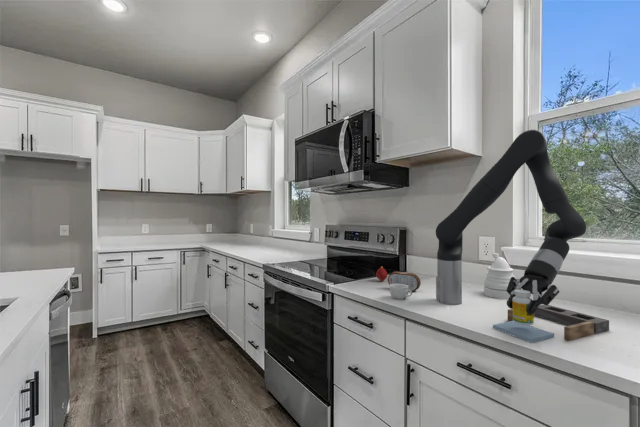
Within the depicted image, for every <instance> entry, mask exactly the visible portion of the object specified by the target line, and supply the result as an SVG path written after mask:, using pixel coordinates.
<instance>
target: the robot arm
mask: <svg viewBox="0 0 640 427" xmlns="http://www.w3.org/2000/svg"><path fill="white" fill-rule="evenodd" d="M523 165H526V166H527V168H528V169H529V171H530V173H531V175H532V178H533V181H534V185H535V188H536V192H537V193H538V196H539V200H540V202H541V204H542V207H543V209H544V211H545V212H546V213H547V214H548V215H549V214H550V215H553V214H554V215H556V216H557V217H558V218H559V219H557V220H556V221H553V222H552V223H551V224H550V225H548V227H547V229H546V230H545V233H544V234H545V235H544V238H543V242H542V244H541V246H540V247H539V249H538V250H537V252H536V253H535V254H534V255H533V257H532V258H531V259H530V260H531V261H530V262H529V264H528V265H527V267H525V270H524V273H523V276H522V277H520V278H516V277H515V278H514V277H511V279H510V281H509V284H508V287H507V290H506V291H507V292H508V293H509V295H510V297H509V299H507V300H506V306H507V307H508V309H512V299H513V297H515V296H516V295H515V290H527V291H530V294H532V300H531V302H530V303H529V305H528V307H527V309H526V311H527V312H528V314H531V315H532V314H533V313H535V312H536V310H537V308H538V306H539V305H550V304H551V302H552V301H553V300H554V299H555V298H556V297H557V296H558V295H559V293H560V290H559V288H558V287H557V285H556V284H553V282H554V280H555V278H556V277H557V275H558V273H559V272H560V270H561V268H562V265H563V263H564V261H565V259H566V258H567V256H568V254H569V252H570V245H569V243H568V241H569V240H573V239H576V238H580V237H582V236H583V235H584V234H586V232H587V223H586V221H585V219H584V217H583V216H582V215H581V214H580V213H579V212H578V211H577V209H576V208H575V207H574V206H573V205H572V203H570V201H569V199H568V196H567V193H566V192H565V190H564V187H563V185H562V184H561V182H560V180H559V178H558V177H557V175H556V173H555V171H554V168H553V166H552V164H551V160H550V157H549V151H548V143H547V140H546V137H545V136H544V134H543V132H541V131H540V130H538V129H528V130H525V131H523V132H521V133H520V134H519V135H518V136H517V137H516V138H515V139H514V140H513V142H512V143H511V144H510V145H509V147H508V149H507V150H506V151H505V153H504V154H503V155H502V156H501V157H500V159H498V161H497V162H496V163H495V164H494V165H492V167H491V168H490V169H489V170H488V171H487V172H486V173H485V174H484V175H483V176H482V178H480V179H479V180H478V182H477V183H475V184H474V186H473V187H471V190H470V191H469V192H467V194H466V195H465V197H464V198H463V199H462V201H461V202H460V203H459V205H458V206H456V208H455V209H454V210H453V211H452V212H451V213H450V214H449V215H447V217H445V218H444V219H443V220H442V221H441V222H439V223H438V225H437V226H436V229H435V236H436V238H437V239H438V248H437V254H436V260H437V261H436V262H437V263H436V264H437V265H436V266H437V267H436V268H437V269H436V270H437V274H436V276H435V299H436V301H437V302H438V303H440V304H447V305H460V304H462V303H463V294H462V293H463V290H462V289H463V287H462V286H463V284H462V282H463V277H462V276H463V275H462V274H463V271H462V270H463V269H462V268H463V266H462V265H463V263H462V262H463V260H462V259H463V258H462V257H463V255H462V254H463V231H464V230H465V229H466V228H467V226H468V225H470V224H471V222H472V221H473V220H474V219H475V218H476V217H478V216H479V215H481V214H482V213H484V212H485V211H486V210H487V209H488V208H489V207H490V206H492V205H493V203H495V202H496V201H497V199H499V198H500V197H501V195H503V193H505V191H506V189H507V188H508V187H509V184H510V183H511V182H512V179H513V178H514V176H515V174H516V173H517V172H518V171H519V169H520V168H521V167H522V166H523Z"/></svg>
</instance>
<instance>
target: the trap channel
mask: <svg viewBox="0 0 640 427" xmlns="http://www.w3.org/2000/svg"><path fill="white" fill-rule="evenodd" d="M533 315H534V317H539V318H541V319H544V320H545V319H546V320H549V321H552V322H556V323H559V324H562V325H565V326H564V327H563V329H564V330H563V339H564V340H566V341H569V342H570V341H574V340H577V339H581V338H585V337H588V336H592V335H596V334H599V333H603V332H607V331H610V319H605V318H601V317H597V316H595V315H594V316H593V315H590V314H586V313H581V312H579V311H578V312H577V311H574V310H570V309H566V308H562V307H558V306H554V305H551V304H548V305H544V304H541V305H539V306H538V308H537V310H536V312H535V313H533ZM507 321H508V322H510V321H513V309H511V308H508V309H507Z"/></svg>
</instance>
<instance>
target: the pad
mask: <svg viewBox="0 0 640 427" xmlns="http://www.w3.org/2000/svg"><path fill="white" fill-rule="evenodd" d="M492 329H494V330H497V331H499V330H500V332H502V331H503V333H505V332H506V333H505V334H507V333H508V335H510V334H511V336H512V335H514V336H513V337H515V336H516V337H515V338H517V339H518V338H519V339H520V338H521V340H523V339H524V340H523V341H525V342H528V341H529V343H531V344H533V343H536V341H537V342H540V340H541V341H544V340H548V339H552V338H555V333H554V332H552V331H548V330H544V329H541V328H539V327H535V326H532V325H520V324H517V323H515V322H514V321H506V322H500V323H496V324H492ZM532 342H533V343H532Z"/></svg>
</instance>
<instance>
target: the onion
mask: <svg viewBox="0 0 640 427" xmlns="http://www.w3.org/2000/svg"><path fill="white" fill-rule="evenodd" d="M375 273H376V274H375V275H376V278H377V279H378V280H379V281H380V282H384V281H385V280H386V279H388V278H387V277H388V272H387V270H386V269H385V268H384V267H383V266H380V267H379V268H378V269H377V271H376V272H375Z"/></svg>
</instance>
